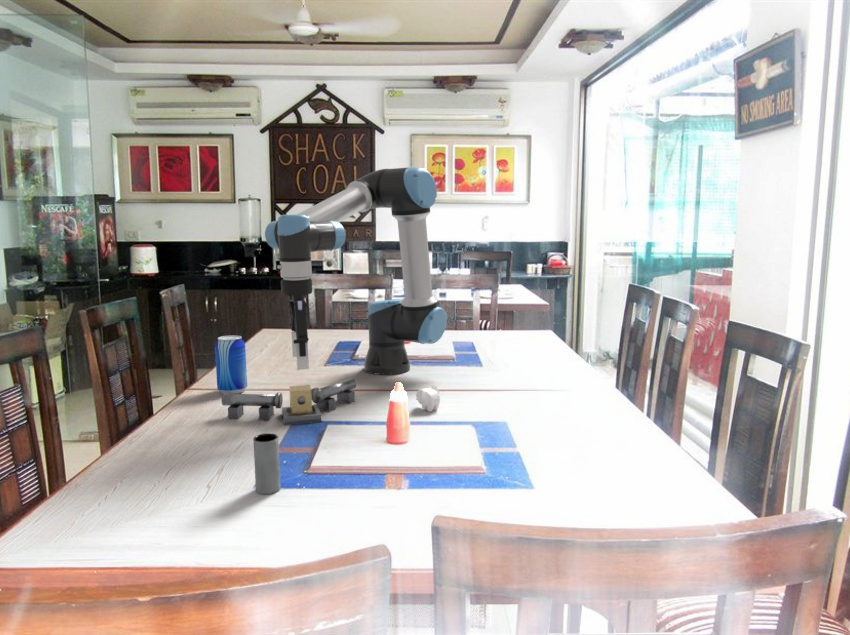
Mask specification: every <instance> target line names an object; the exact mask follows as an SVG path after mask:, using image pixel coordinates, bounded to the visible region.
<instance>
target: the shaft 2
mask: <svg viewBox="0 0 850 635" xmlns="http://www.w3.org/2000/svg"><path fill="white" fill-rule="evenodd" d="M357 383H358V382H357V380H356V379H355V378H353V377H351V378H348V379H345V380H342V381H339V382H336V383H335V382H334V383H332V384H328V385H326V386H323V387H314V388H311V395H312V403H313V404H315V405H317V406H318V408H319V410H320V409H321V410H320V411H325V412H331V411H335V410H336V402H338V403H343V404H348V405H350V404H353V403H355V400H356V396H355V394H356V393H355V391H354V389H356V388H357V385H358V384H357ZM333 396H336V398H334V397H333Z"/></svg>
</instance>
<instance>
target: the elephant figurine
mask: <svg viewBox="0 0 850 635" xmlns="http://www.w3.org/2000/svg"><path fill="white" fill-rule="evenodd" d="M439 393H440V390H439V388H438V387H437V386H435V385H431V386H430V387H425V388H419V389H418V390H417V392H416V394H415V397H416V399H415V401H417V402H418V404H420V405H421V408H422V411H427V412H433V411H436V410H438V408H439V406H440V401H441V398H440V395H439Z"/></svg>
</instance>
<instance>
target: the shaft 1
mask: <svg viewBox="0 0 850 635" xmlns="http://www.w3.org/2000/svg"><path fill="white" fill-rule="evenodd" d="M283 398H284V397H283V394H282V392H276V394H275V393H274V394H272V393H271V394H269V393H267V394H264V393H239V394H222V396H221V400H220V401H221V405H222V406H225V407H226V406H228V407H227V419H228V420H239V419H240V418H241V417H242V416H243V415H245V414H244V411H245V410H244V407H258V417H259V421H270V419H271V418H272V417H273V416H275V411H274V410H275V409H282V408H283V403H284V402H283V400H284V399H283ZM274 407H275V408H274Z"/></svg>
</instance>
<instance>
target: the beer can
mask: <svg viewBox="0 0 850 635" xmlns="http://www.w3.org/2000/svg"><path fill="white" fill-rule="evenodd" d="M214 351H215V352H214V354H215V369H216V370H215V372H216V388H217V390H218V391H219V393H220V394H222V395H223V394H243V392H245V391H246V389H247V387H248V374H247V371H248V370H247V353H246V343H245V342H244V340H243V339H242V336H241V335H234V334H233V335H222V336H219V337H217V341H216V343H215V345H214Z"/></svg>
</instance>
